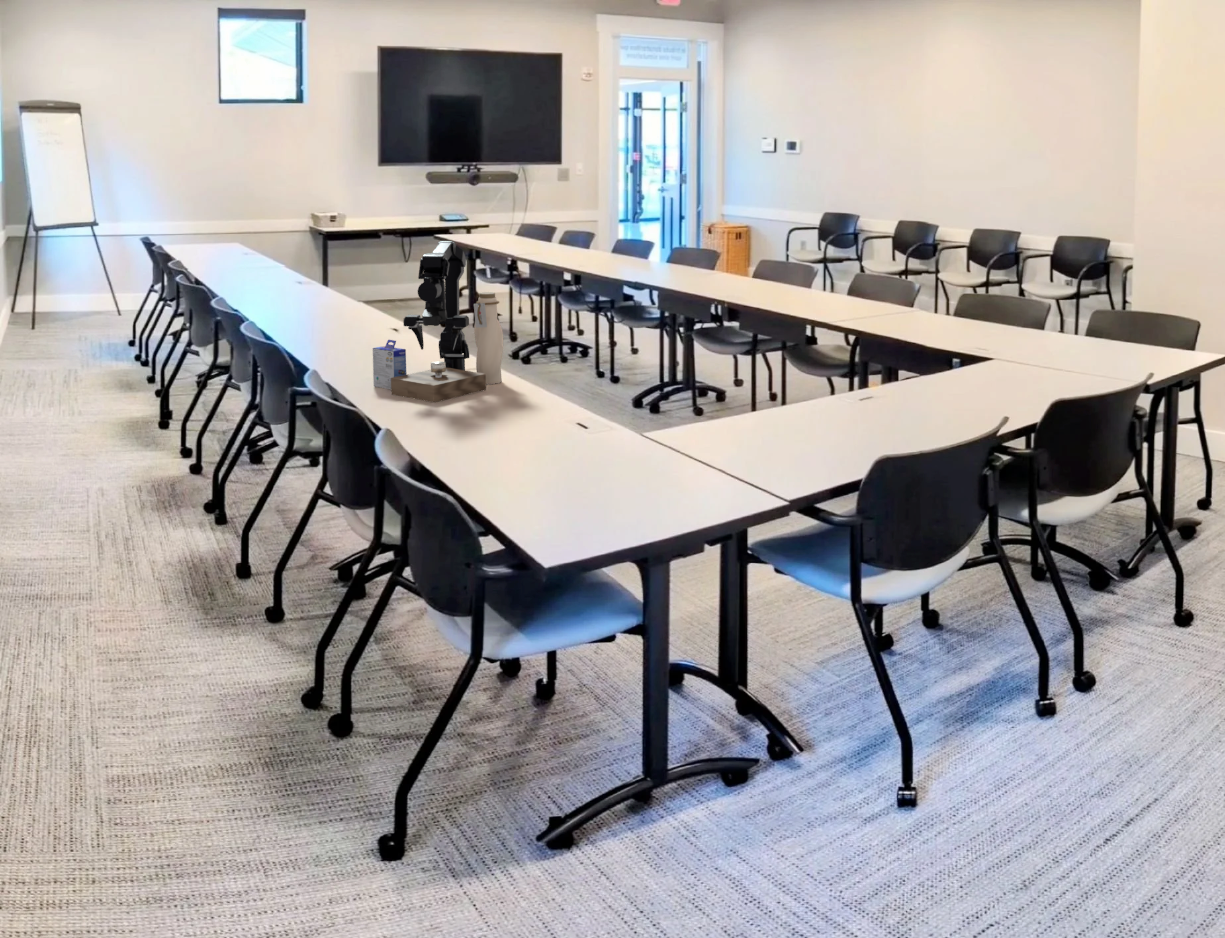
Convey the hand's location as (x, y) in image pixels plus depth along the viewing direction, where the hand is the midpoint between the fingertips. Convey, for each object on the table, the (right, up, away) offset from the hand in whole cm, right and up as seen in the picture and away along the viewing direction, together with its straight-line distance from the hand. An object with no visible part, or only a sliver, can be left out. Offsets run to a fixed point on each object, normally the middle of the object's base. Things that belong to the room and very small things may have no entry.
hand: (437, 349), depth 339 cm
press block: (0, -12, +4) cm, 13 cm away
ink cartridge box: (-16, -11, +10) cm, 22 cm away
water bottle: (+14, -9, +18) cm, 24 cm away
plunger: (0, -12, +4) cm, 13 cm away
